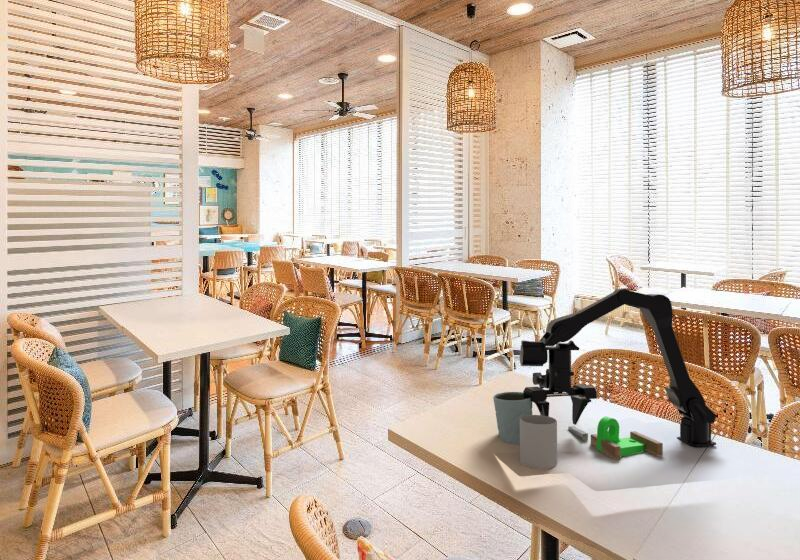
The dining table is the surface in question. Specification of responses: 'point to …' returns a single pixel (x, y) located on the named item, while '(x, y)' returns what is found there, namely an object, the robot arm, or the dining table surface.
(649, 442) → the beam rails
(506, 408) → the teal tapered tumbler
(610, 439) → the mechanical part
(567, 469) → the dining table surface
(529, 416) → the cup
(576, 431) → the u-shaped bracket
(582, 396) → the robot arm
